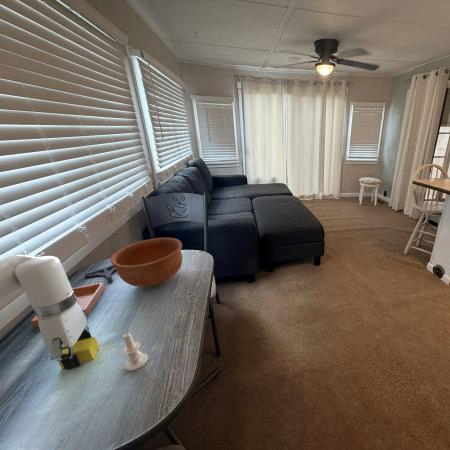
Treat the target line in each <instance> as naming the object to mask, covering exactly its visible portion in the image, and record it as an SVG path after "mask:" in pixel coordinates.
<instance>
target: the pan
mask: <svg viewBox="0 0 450 450" xmlns="http://www.w3.org/2000/svg"><path fill="white" fill-rule="evenodd" d="M72 289H73V292H74V294H75V296H76V299H77V300H78V302H79V304H80V307H81V309H82V311H83V313H86V317H87V316H89V315H90V313H91V311H92V309H93V308H94V306H95V305H96V303H97V301H98V300H99V298H100V297H101V296H102V293H103V292H104V290H105V289H106V287H105V283H104V282H99V283H94V284H87V285H83V286H78V287H77V286H76V287H72ZM38 320H39V318H38V317H37V315H36V314H35V316H34V317H33V318H32V319H31V320H30V323H31V324H32V326H33V328H39V323H38Z"/></svg>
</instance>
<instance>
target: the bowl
mask: <svg viewBox="0 0 450 450" xmlns="http://www.w3.org/2000/svg"><path fill="white" fill-rule="evenodd" d="M182 248H183V243H182V240H179V239H178V238H173V237H156V238H150V239H145V240H141V241H138V242H134V243H132V244H129V245H127V246H125V247H123V248H121V249H119V250H117V251H116V252H115V253H113V255H112V256H111V257H110V259H109V262H110V263H111V266H112V265H114V266H115V267H116V273H117V276H118V277H119V278H120V279H121V281H123V282H125V283H126V284H128V285H130V286H132V287H133V286H134V287H137V288H149V287H159V286H161V285H163V284H165V283H166V282H167V281H169V280H170V279H172V277H174V276H175V275H176V274H178V272H179V270H181V267H182V264H183V263H182V262H183V253H182Z"/></svg>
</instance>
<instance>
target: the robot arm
mask: <svg viewBox="0 0 450 450" xmlns="http://www.w3.org/2000/svg"><path fill="white" fill-rule="evenodd" d="M21 288H22V290H23V292H24V294H25V296H26V298H27V299H28V301H29V303H30V305H31V307H32V310H33V312H34V313H35V316H36V315H37V317H38V318H39V320H38V323H39V327H38V329H39V333H40V335H41V338H42V340H43V342H44V345H45V347H46V349H47V351H48V352H49V354H50V360H51V361H55V362H58V361H61V363H62V365H63V367H64V368H63V369H64V370H65V371H70V370H73V369H76V368H80V367H81V365H82V363H80V361H79V359H78V357H77V354H74V349H73V345H74V344H75V343H76V342H77V341H80V340H84V339H88V338H92V337H93V336H92V335H91V332H90V327H89V326H88V319H87V316H86V313H83V311H82V309H81V307H80V305H79V304H78V301H77V299H76V296H75V294H74V292H73V289H72V288H73V287H72V285H71V283H70V280H69V278H68V276H67V273H66V270H65V269H64V266H63V264H62V262H61V260H60V259H59V258H58V257H57V256H53V255H44V256H39V257H38V256H33V255H27V254H26V255H25V254H15V255H10V256H8V257H6V258H3V259H1V260H0V300H2V299H3V298H5V297H7V296H9V295H10V294H12V293H14V292H16V291H17V290H19V289H21ZM64 345H66V346H64ZM67 345H68V346H67ZM63 346H64V347H63ZM64 349H68V354H63V350H64Z"/></svg>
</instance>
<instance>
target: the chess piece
mask: <svg viewBox="0 0 450 450" xmlns="http://www.w3.org/2000/svg"><path fill="white" fill-rule="evenodd" d="M122 337H123V340H124V342H125V346H124V348H123V349H122V354H123V355H128V356H127V358H126V360H127V361H126V362H125V364H124V368H125V371H127V372H135V371H137V370H139V369H141V368H143V366H145V365H146V364H147V362H148V359H149V357H148V354H147V353H145V352H141V351H140V350H139V349H140V347H141V342H139V341H134V339H133V336H132V335H131V333H129V332H126V333H124V335H123V336H122Z"/></svg>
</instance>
